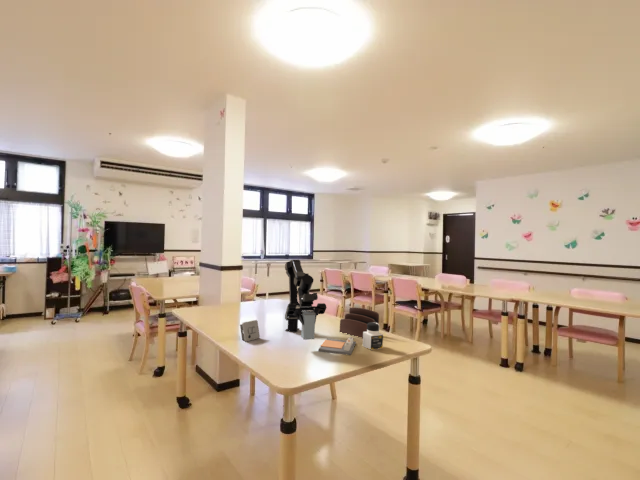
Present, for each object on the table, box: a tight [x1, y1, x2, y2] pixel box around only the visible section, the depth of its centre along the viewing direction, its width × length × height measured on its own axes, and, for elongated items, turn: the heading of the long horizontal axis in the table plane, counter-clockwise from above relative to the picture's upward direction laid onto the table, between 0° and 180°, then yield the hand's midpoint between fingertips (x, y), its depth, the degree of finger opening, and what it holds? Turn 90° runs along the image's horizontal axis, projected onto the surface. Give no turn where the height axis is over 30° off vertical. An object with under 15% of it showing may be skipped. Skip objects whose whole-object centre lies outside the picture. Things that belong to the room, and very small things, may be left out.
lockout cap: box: [300, 311, 316, 341], centre depth 155 cm, size 5×5×12 cm
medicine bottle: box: [362, 322, 384, 351], centre depth 162 cm, size 7×7×12 cm
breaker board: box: [318, 336, 357, 356], centre depth 160 cm, size 18×15×4 cm
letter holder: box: [339, 307, 380, 339], centre depth 185 cm, size 10×20×14 cm, turn 50°
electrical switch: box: [239, 319, 261, 342], centre depth 168 cm, size 9×5×9 cm, turn 141°
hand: (309, 324), depth 153 cm, fingers closed on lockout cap, 5 cm apart
